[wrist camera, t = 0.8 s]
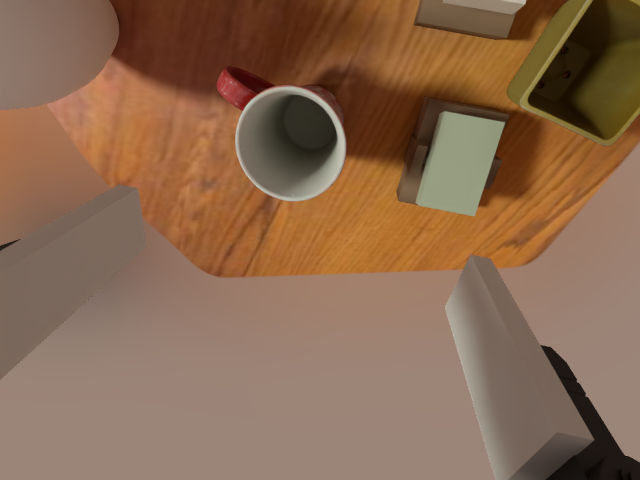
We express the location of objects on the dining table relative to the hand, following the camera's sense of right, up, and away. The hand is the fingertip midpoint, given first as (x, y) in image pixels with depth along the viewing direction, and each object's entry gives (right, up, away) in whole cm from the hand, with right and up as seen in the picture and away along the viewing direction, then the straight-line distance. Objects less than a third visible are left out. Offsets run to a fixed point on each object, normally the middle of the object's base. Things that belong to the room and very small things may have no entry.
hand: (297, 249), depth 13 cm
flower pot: (+24, +18, +19) cm, 35 cm away
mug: (-1, +15, +24) cm, 29 cm away
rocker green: (+15, +8, +21) cm, 27 cm away
